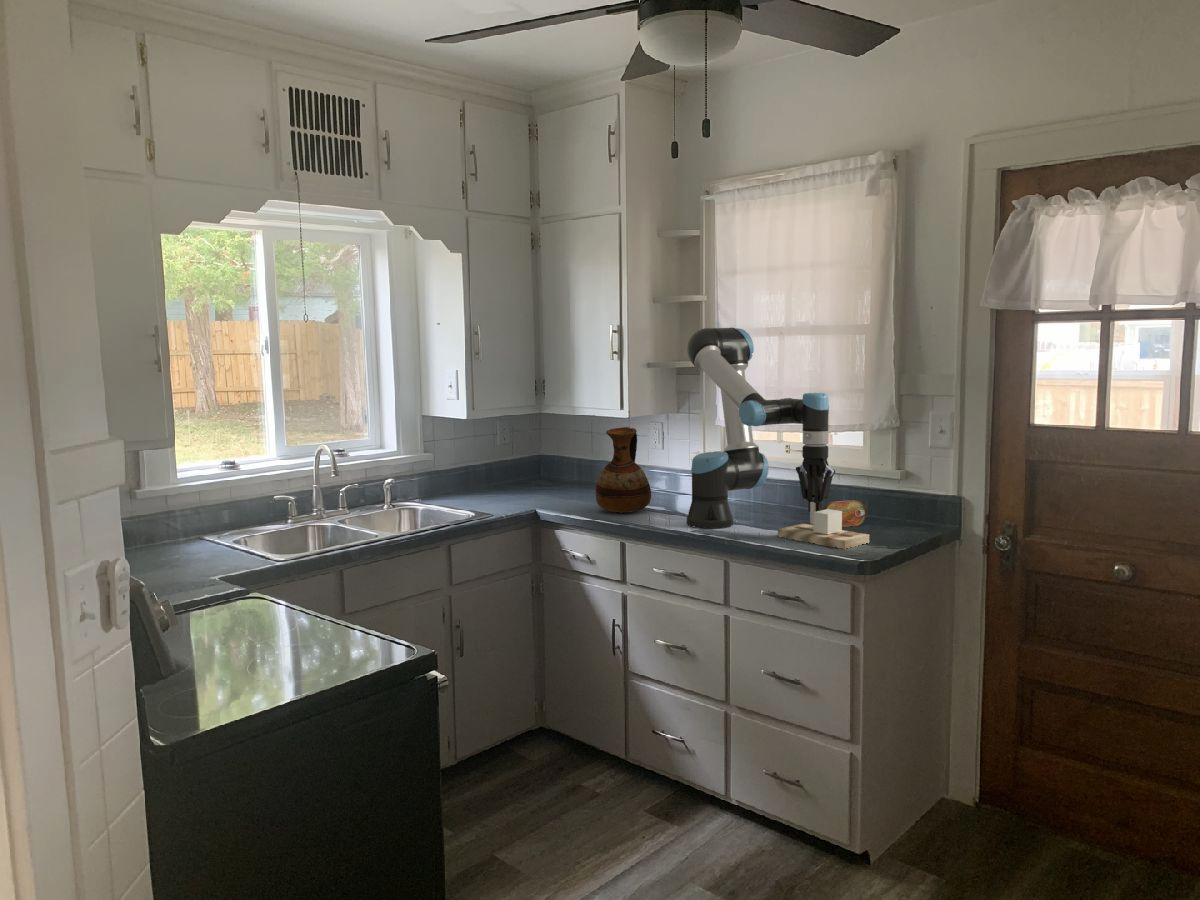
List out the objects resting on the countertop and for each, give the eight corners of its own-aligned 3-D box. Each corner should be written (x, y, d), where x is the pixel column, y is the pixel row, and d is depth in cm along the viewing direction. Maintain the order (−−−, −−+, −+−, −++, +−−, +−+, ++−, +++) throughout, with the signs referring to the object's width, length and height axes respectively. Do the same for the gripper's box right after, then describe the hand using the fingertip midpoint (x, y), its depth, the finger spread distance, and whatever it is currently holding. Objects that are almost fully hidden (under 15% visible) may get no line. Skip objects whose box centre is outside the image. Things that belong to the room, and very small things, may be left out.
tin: (825, 529, 292) (825, 502, 291) (820, 527, 295) (820, 501, 294) (866, 525, 296) (867, 499, 295) (861, 524, 299) (861, 498, 298)
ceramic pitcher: (588, 514, 323) (587, 429, 320) (605, 505, 342) (604, 424, 339) (642, 516, 317) (642, 430, 314) (656, 507, 336) (656, 425, 333)
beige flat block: (777, 536, 281) (777, 528, 280) (802, 531, 288) (802, 523, 288) (844, 549, 263) (845, 540, 262) (869, 543, 270) (869, 534, 270)
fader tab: (813, 532, 274) (813, 512, 273) (827, 528, 278) (827, 509, 277) (827, 534, 270) (827, 514, 269) (841, 531, 274) (842, 511, 274)
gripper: (789, 444, 277) (789, 522, 279) (825, 447, 267) (825, 527, 270) (805, 442, 282) (805, 519, 284) (841, 445, 272) (840, 524, 274)
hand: (814, 523), depth 277 cm, fingers closed
